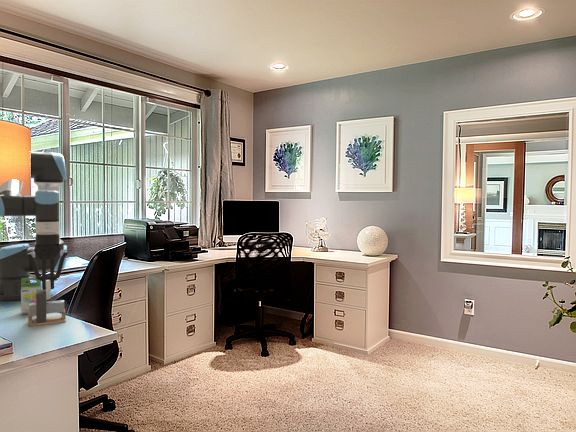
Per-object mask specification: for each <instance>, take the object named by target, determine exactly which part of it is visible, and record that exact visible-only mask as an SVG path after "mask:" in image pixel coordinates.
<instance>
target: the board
mask: <svg viewBox="0 0 576 432" xmlns="http://www.w3.org/2000/svg"><path fill="white" fill-rule="evenodd" d="M64 311H65V312H61V315H52V316H46V322H37V321H36V317H35V318H34V317H33V315H30V316H29V314H27V316H28V322H27V323H28V325H27V326H28V327H34V326H36V327H37V326H43V325H51V324H52V325H53V324H60V323H66V322H67V319H66V309H65V308H64Z"/></svg>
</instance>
